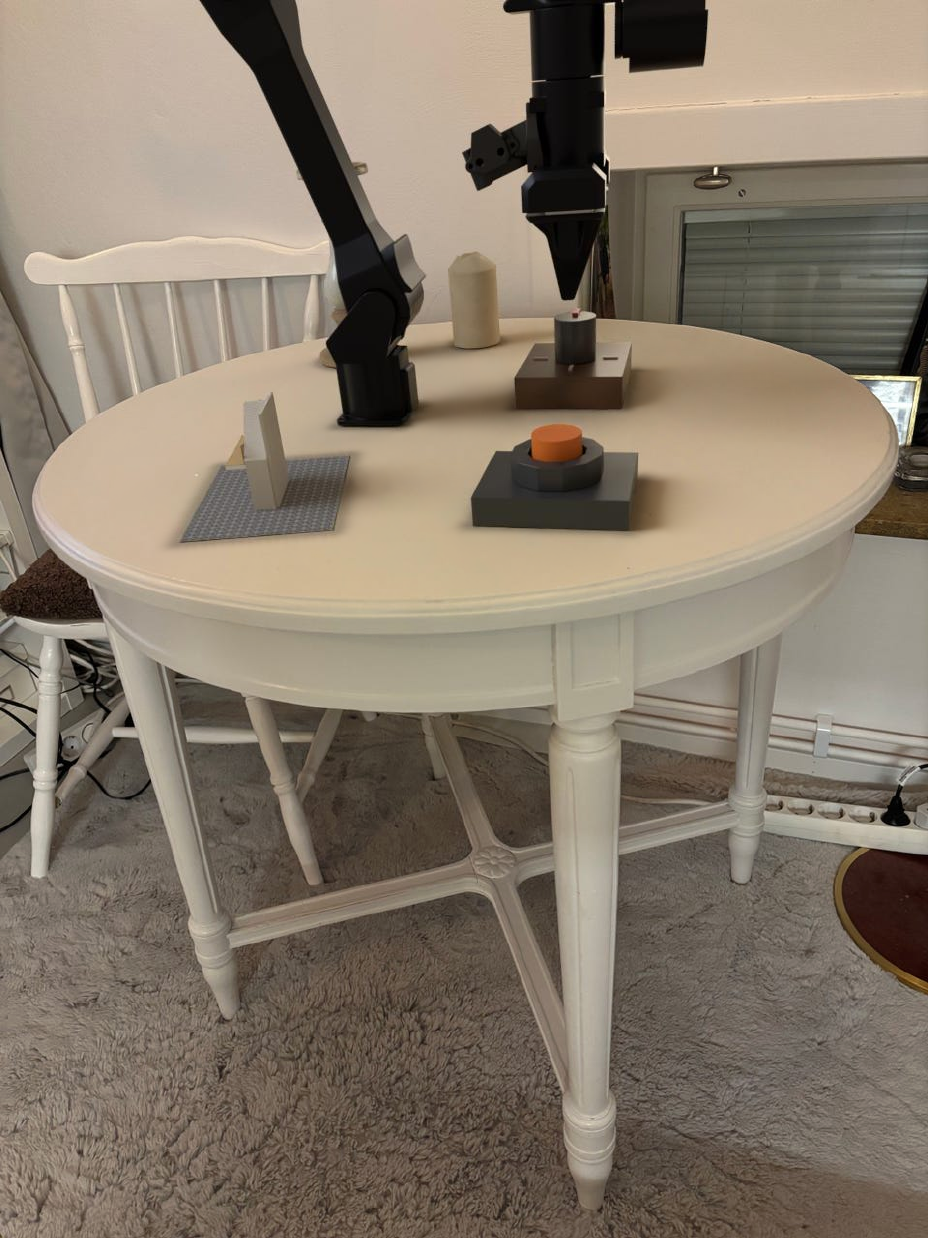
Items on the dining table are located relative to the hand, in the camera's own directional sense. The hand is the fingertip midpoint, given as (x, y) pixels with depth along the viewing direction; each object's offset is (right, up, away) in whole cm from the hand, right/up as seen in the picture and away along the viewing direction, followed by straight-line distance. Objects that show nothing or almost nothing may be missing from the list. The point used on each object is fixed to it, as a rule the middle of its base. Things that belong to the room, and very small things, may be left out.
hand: (571, 287), depth 78 cm
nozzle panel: (+2, -6, +11) cm, 13 cm away
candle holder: (-22, +2, +27) cm, 35 cm away
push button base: (-2, -20, -11) cm, 23 cm away
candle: (-8, +4, +29) cm, 31 cm away
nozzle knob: (+2, -3, +10) cm, 10 cm away
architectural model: (-25, -19, -6) cm, 32 cm away
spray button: (-3, -17, -13) cm, 22 cm away
